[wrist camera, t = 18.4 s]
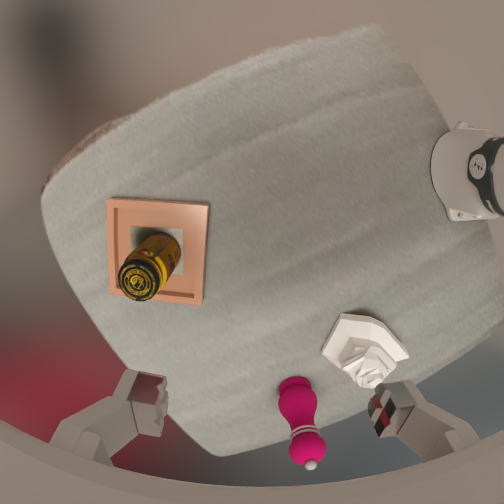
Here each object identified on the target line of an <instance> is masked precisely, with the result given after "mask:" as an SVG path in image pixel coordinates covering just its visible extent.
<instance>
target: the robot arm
mask: <svg viewBox="0 0 504 504" xmlns="http://www.w3.org/2000/svg"><path fill="white" fill-rule="evenodd" d="M431 175H432V181H433V185H434V188H435V190H436V192H437V194H438V196H439V198H440V199H441V200H442V202H443V203H444V205H445V208H446V212H447V216H448V218H449V220H451V221H467V220H484V219H497V218H498V216H502V217H504V137H496V135H495V134H493V133H491V131H490V130H488V129H476V128H473V127H472V126H471V125H469V124H468V123H467V122H465V121H460V122H458V124H457V125H456V126H455V128H454V129H453V130H452V131H450V132H447V133H445V134H444V135H443V136H442V137H441V138H440V139H439V140H438V142H437V143H436V145H435V147H434V150H433V154H432V159H431ZM166 386H167V378H166V376H162V375H157V374H151V373H146V372H141V371H135V370H131V369H127V370H125V371H124V373H123V375H122V378H121V380H120V382H119V384H118V386H117V388H116V390H115V392H114V394H113V396H112V397H110V396H108V397H106V398H104V399H103V400H100V401H99V402H97V403H95V404H93V405H91V406H89V407H87V408H86V409H83V410H82V411H80V412H78V413H76V414H74V415H72V416H70V417H68V418H66V419H64V420H62V421H61V423H60V425H59V426H58V428H57V430H56V431H55V433H54V435H53V437H52V439H51V441H50V443H49V444H48V443H45V442H43V441H41V440H38V439H36V438H34V437H32V436H30V435H28V434H26V433H24V432H22V431H20V430H18V429H16V428H14V427H12V426H11V425H8V424H7V423H5V422H3V421H1V420H0V504H504V430H502V431H500V432H498V433H496V434H494V435H492V436H490V437H488V438H486V439H483V440H480V439H479V438H478V436H477V435H476V433H475V432H474V430H473V429H472V427H471V426H470V424H469V423H467V422H465V421H463V420H461V419H459V418H457V417H455V416H453V415H452V414H450V413H448V412H446V411H444V410H442V409H441V408H439V407H437V406H435V405H433V404H431V403H427V402H426V401H425V399H424V398H423V396H422V394H421V393H420V392H419V390H418V389H417V387H416V386H415V384H414V383H413V381H411V380H410V379H409V380H402V381H395V382H386V383H379V384H378V385H377V386H376V388H375V393H376V394H375V395H374V396H373V397H372V398H371V399H370V401H369V404H368V414H369V417H370V419H371V420H372V421H374V422H375V425H374V428H375V431H376V433H377V435H378V437H379V438H383V437H390V436H396V437H397V438H399V439H400V440H401V441H402V442H403V443H405V444H406V445H407V446H408V447H409V448H411V449H412V450H413V451H414V452H416V453H417V454H418V455H419V456H421V457H422V458H423V459H424V460H423V461H422V463H421V464H418V465H414V466H411V467H407V468H404V469H400V470H396V471H392V472H388V473H384V474H379V475H374V476H370V477H365V478H359V479H353V480H347V481H340V482H333V483H325V484H316V485H304V486H287V487H237V486H220V485H208V484H198V483H191V482H183V481H177V480H170V479H165V478H159V477H153V476H149V475H144V474H140V473H136V472H131V471H127V470H123V469H120V468H116V467H114V466H113V464H112V462H111V460H110V457H111V456H112V455H114V454H115V453H116V452H117V451H119V449H121V448H122V447H123V446H125V445H126V444H127V443H128V442H129V441H131V440H132V439H133V438H134V437H136V436H137V435H138V433H140V434H146V435H151V436H158V437H160V436H161V433H162V429H163V425H164V422H163V417H164V416H165V415H166V413H167V408H168V392H167V391H166Z"/></svg>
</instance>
